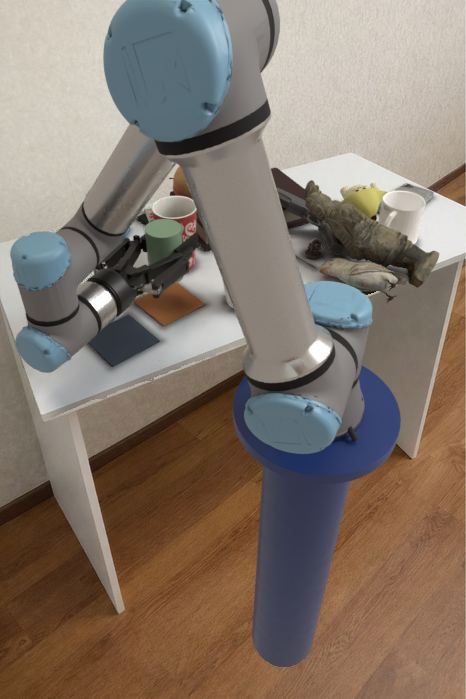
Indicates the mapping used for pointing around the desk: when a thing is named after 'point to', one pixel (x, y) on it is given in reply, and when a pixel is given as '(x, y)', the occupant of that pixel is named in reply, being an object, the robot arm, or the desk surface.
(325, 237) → the handgun
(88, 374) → the desk surface
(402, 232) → the mug
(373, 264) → the decorative bird
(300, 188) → the book
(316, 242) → the figurine
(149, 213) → the usb flash drive
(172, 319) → the cork mat
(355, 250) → the statue
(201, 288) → the desk surface
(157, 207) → the mug
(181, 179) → the apple
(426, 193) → the phone
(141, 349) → the slate mat
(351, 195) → the toy
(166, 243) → the canister
